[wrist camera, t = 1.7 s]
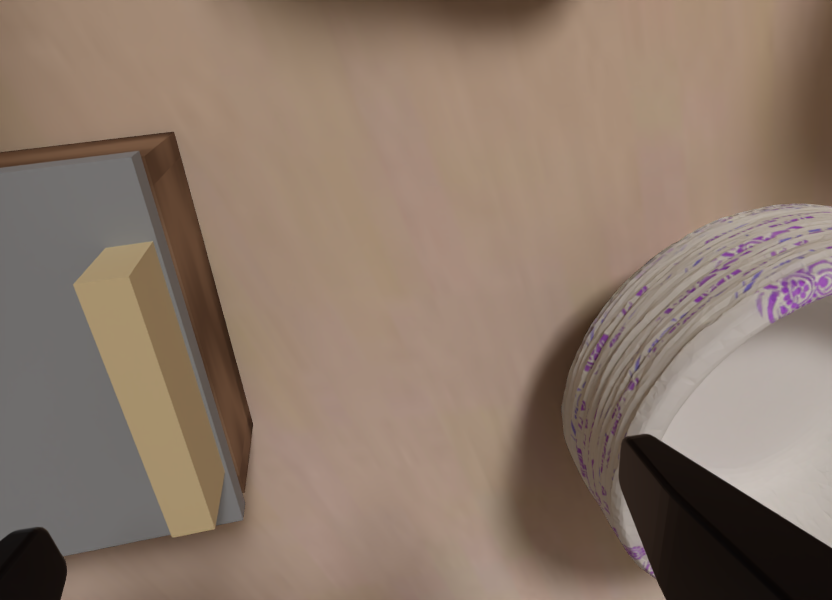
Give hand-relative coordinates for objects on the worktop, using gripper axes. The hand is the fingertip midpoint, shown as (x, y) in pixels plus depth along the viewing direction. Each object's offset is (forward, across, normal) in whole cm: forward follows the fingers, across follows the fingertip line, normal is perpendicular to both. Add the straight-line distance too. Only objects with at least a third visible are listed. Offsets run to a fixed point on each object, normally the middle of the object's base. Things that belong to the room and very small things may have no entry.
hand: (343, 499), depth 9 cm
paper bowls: (+15, -15, +9) cm, 23 cm away
